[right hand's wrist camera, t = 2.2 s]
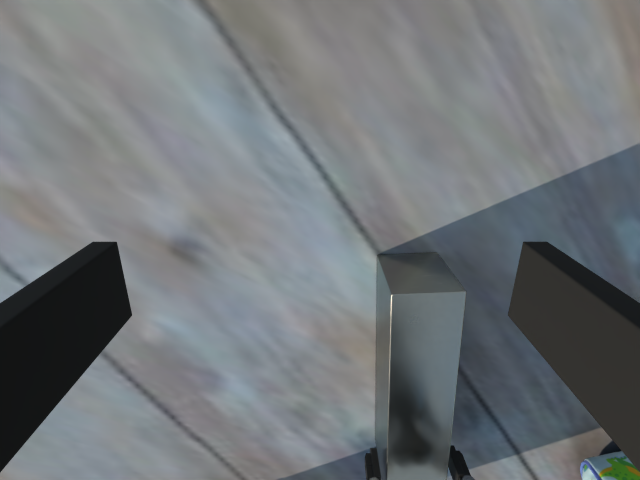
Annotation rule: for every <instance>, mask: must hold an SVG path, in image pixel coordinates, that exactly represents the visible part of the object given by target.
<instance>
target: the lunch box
mask: <svg viewBox="0 0 640 480" xmlns="http://www.w3.org/2000/svg"><path fill="white" fill-rule="evenodd" d="M580 472H581V477H582V480H640V472H639V471H638V470H637V468H636V467H635V466H634V465H633V464H632V462H631V461H630V460H629V459H628V458H627V457H626V455H625V454H624V453H623V452H622V451H620V452H613V453H609V454H604V455H600V456H594V457H590V458H587V459H585V460H584V461H583V462H582V463H581V465H580Z"/></svg>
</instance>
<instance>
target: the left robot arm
mask: <svg viewBox="0 0 640 480" xmlns="http://www.w3.org/2000/svg"><path fill="white" fill-rule="evenodd" d="M448 467H449V470H450V473H451V476H452V479H453V480H474V478H473V477H472V476H471V475H470V473H469V470H468V467H467V465H466V462H465V460H464V457H463V455H462V453H461V452H460V451H456V450H455V447H454V446H450V453H449V463H448ZM365 471H366V480H381V473H380V466H379V460H378V453H377V448H370V453H366V456H365Z"/></svg>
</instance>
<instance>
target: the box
mask: <svg viewBox="0 0 640 480" xmlns="http://www.w3.org/2000/svg"><path fill="white" fill-rule="evenodd" d="M465 301H466V290H465V289H464V288H463V286H462V285H461V284H460V282H459V281H458V280H457V278H456V277H455V276H454V274H453V273H452V272H451V270H450V269H449V268H448V266H447V265H446V264H445V262H444V261H443V260H442V258H441V257H440V256H439V254H438V253H437V252H433V253H408V254H384V255H377V297H376V394H375V442H376V448H377V453H378V460H379V466H380V473H381V479H382V480H447V472H448V463H449V453H450V444H451V434H452V425H453V415H454V406H455V396H456V387H457V377H458V368H459V358H460V349H461V339H462V330H463V320H464V311H465Z"/></svg>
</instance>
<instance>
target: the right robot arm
mask: <svg viewBox="0 0 640 480" xmlns="http://www.w3.org/2000/svg"><path fill="white" fill-rule="evenodd" d="M131 316H132V312H131V308H130V303H129V298H128V293H127V289H126V284H125V279H124V274H123V270H122V265H121V260H120V255H119V250H118V246H117V242H92V243H91V244H89V245H87V246H86V247H84V248H83V249H81V250H80V251H78V252H77V253H75V254H74V255H72V256H71V257H69V258H68V259H66V260H65V261H63V262H62V263H60V264H59V265H57V266H56V267H54V268H53V269H51V270H50V271H48V272H47V273H45V274H44V275H42V276H41V277H39V278H38V279H36V280H35V281H33V282H32V283H30V284H29V285H27V286H26V287H24V288H23V289H21V290H20V291H18V292H17V293H15V294H14V295H12V296H11V297H9V298H8V299H6V300H5V301H3V302H1V303H0V472H1V471H2V470H3V468H4V467H5V466H6V465H7V464H8V462H9V461H10V460H11V459H12V458H13V457H14V455H15V454H16V453H17V452H18V451H19V449H20V448H21V447H22V446H23V445H24V443H25V442H26V441H27V440H28V439H29V437H30V436H31V435H32V434H33V433H34V431H35V430H36V429H37V428H38V427H39V426H40V424H41V423H42V422H43V421H44V420H45V418H46V417H47V416H48V415H49V414H50V412H51V411H52V410H53V409H54V408H55V406H56V405H57V404H58V403H59V402H60V401H61V399H62V398H63V397H64V396H65V395H66V393H67V392H68V391H69V390H70V389H71V387H72V386H73V385H74V384H75V383H76V381H77V380H78V379H79V378H80V377H81V376H82V374H83V373H84V372H85V371H86V370H87V368H88V367H89V366H90V365H91V364H92V362H93V361H94V360H95V359H96V358H97V356H98V355H99V354H100V353H101V352H102V350H103V349H104V348H105V347H106V346H107V345H108V343H109V342H110V341H111V340H112V339H113V337H114V336H115V335H116V334H117V333H118V331H119V330H120V329H121V328H122V327H123V325H124V324H125V323H126V322H127V321H128V320H129V318H130V317H131ZM508 316H509V317H510V318H511V320H512V321H513V322H514V323H515V324H516V325H517V327H518V328H519V329H520V330H521V331H522V333H523V334H524V335H525V336H526V337H527V339H528V340H529V341H530V342H531V343H532V345H533V346H534V347H535V348H536V349H537V350H538V352H539V353H540V354H541V355H542V356H543V358H544V359H545V360H546V361H547V362H548V364H549V365H550V366H551V367H552V368H553V370H554V371H555V372H556V373H557V374H558V376H559V377H560V378H561V379H562V380H563V381H564V383H565V384H566V385H567V386H568V387H569V389H570V390H571V391H572V392H573V393H574V395H575V396H576V397H577V398H578V399H579V401H580V402H581V403H582V404H583V405H584V406H585V408H586V409H587V410H588V411H589V412H590V414H591V415H592V416H593V417H594V418H595V420H596V421H597V422H598V423H599V424H600V426H601V427H602V428H603V429H604V430H605V431H606V433H607V434H608V435H609V436H610V437H611V439H612V440H613V441H614V442H615V443H616V445H617V446H618V447H619V448H620V449H621V451H622V452H623V453H624V454H625V455H626V457H627V458H628V459H629V460H630V461H631V462H632V464H633V465H634V466H635V467H636V468H637V470H638V471H639V472H640V303H639V302H637V301H635V300H634V299H632V298H631V297H629V296H628V295H626V294H625V293H623V292H622V291H620V290H619V289H617V288H616V287H614V286H613V285H611V284H610V283H608V282H607V281H605V280H604V279H602V278H601V277H599V276H598V275H596V274H595V273H593V272H592V271H590V270H589V269H587V268H586V267H584V266H583V265H581V264H580V263H578V262H577V261H575V260H574V259H572V258H571V257H569V256H568V255H566V254H565V253H563V252H562V251H560V250H559V249H557V248H556V247H554V246H553V245H551V244H549V243H548V242H523V246H522V250H521V255H520V260H519V265H518V270H517V274H516V279H515V284H514V289H513V293H512V298H511V303H510V308H509V312H508Z"/></svg>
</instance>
